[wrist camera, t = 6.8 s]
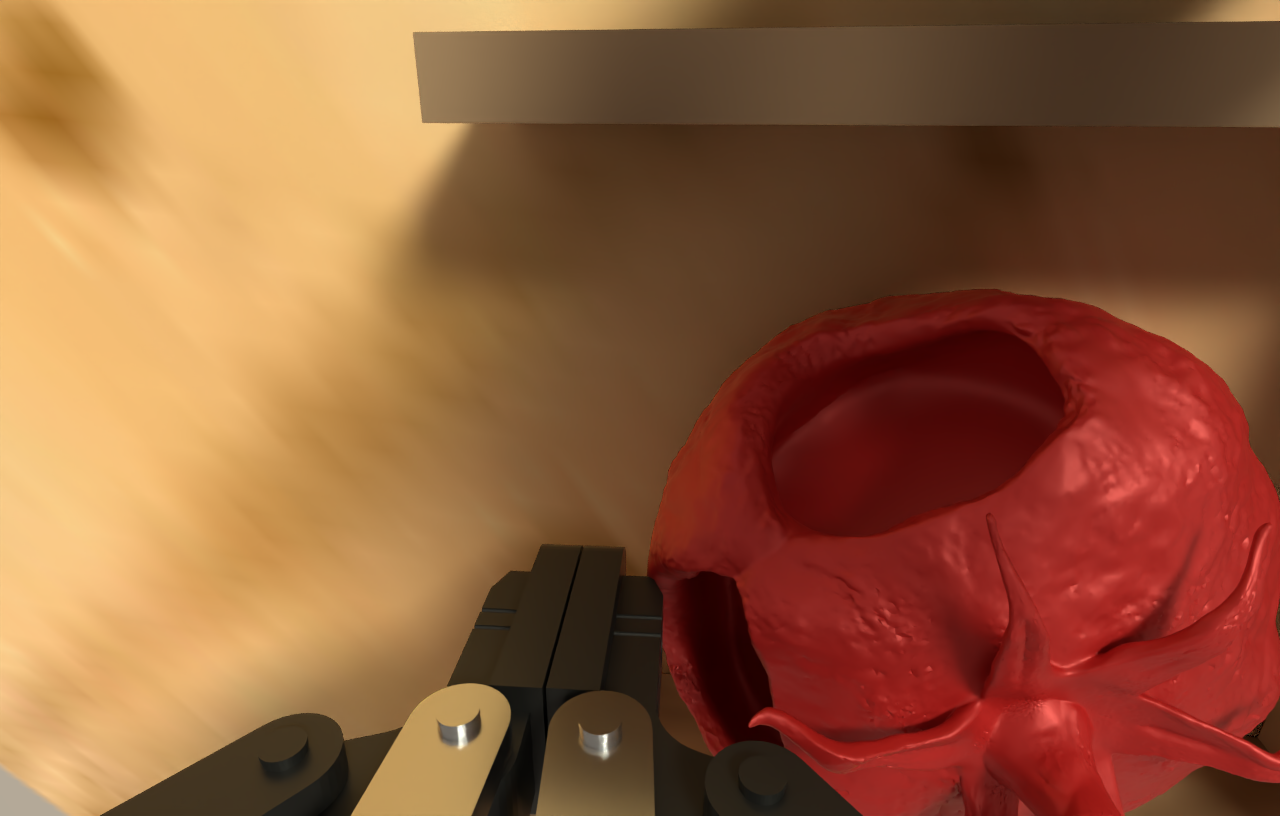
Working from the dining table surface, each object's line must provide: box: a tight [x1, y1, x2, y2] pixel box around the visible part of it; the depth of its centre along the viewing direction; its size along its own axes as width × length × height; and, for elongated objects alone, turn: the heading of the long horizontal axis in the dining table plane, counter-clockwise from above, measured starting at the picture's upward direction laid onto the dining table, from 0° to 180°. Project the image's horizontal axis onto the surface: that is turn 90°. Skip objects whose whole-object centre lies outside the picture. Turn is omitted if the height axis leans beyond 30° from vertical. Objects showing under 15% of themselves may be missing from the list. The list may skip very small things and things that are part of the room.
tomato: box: [647, 289, 1280, 816], centre depth 11 cm, size 10×10×9 cm
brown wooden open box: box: [413, 21, 1280, 816], centre depth 14 cm, size 20×21×6 cm
